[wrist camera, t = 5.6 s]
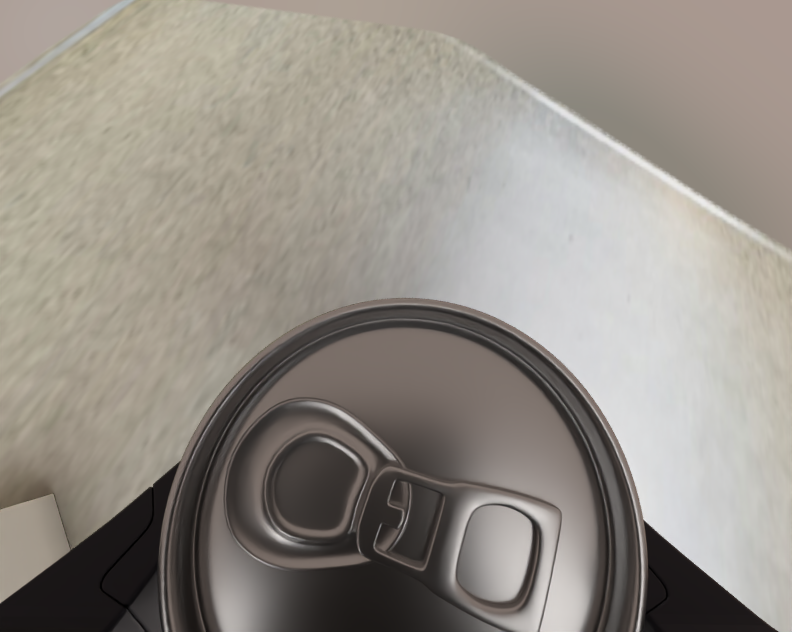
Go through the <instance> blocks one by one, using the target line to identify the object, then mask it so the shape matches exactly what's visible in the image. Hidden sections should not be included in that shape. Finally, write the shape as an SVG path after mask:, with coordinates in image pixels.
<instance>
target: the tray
mask: <svg viewBox="0 0 792 632" xmlns="http://www.w3.org/2000/svg"><path fill="white" fill-rule="evenodd" d="M69 551H70V547H69V544H68V541H67V537H66V534H65V531H64V527H63V524H62V521H61V518H60V514H59V511H58V508H57V504H56V501H55V498H54V495H53V494H50V495H47V496H43V497H40V498H37V499H33V500H30V501H27V502H23V503H20V504H17V505H14V506H10V507H7V508H4V509H0V603H1V602H2V601H4V600H5V599H7V598H8V597H9V596H11V595H12V594H13V593H15V592H16V591H17V590H19V589H20V588H21V587H23V586H24V585H25V584H27V583H28V582H29V581H31V580H32V579H33V578H35V577H36V576H37V575H39V574H40V573H41V572H43V571H44V570H45V569H47V568H48V567H49V566H51V565H52V564H53V563H55V562H56V561H57V560H59V559H60V558H61V557H63V556H64V555H65V554H67V553H68V552H69Z"/></svg>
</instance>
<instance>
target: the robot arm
mask: <svg viewBox="0 0 792 632" xmlns="http://www.w3.org/2000/svg"><path fill="white" fill-rule="evenodd" d="M180 462H181V461H180ZM180 462H178V463H177V464H176V465H175V466H174V467H173V468H171V469H170V470H169V471H168V472H167V473H166V474H164V475H163V476H162V477H161V478H160V479H159V480H157V481H156V482H155V483H154V484H153V487H149V488H148V489H147V490H146V491H144V492H143V493H142V494H141V495H140V496H139V497H137V498H136V499H135V500H134V501H133V502H132V503H130V504H129V505H128V506H127V507H125V508H124V509H123V510H122V511H121V512H119V513H118V514H117V515H116V516H115V517H113V518H112V519H111V520H110V521H109V522H107V523H106V524H105V525H103V526H102V527H101V528H99V529H98V530H97V531H96V532H94V533H93V534H92V535H90V536H89V537H88V538H86V539H85V540H84V541H83V542H81V543H80V544H79V545H77V546H76V547H75V548H73V549H72V550H71V551H69V552H68V553H67V554H65V555H64V556H63V557H61V558H60V559H59V560H57V561H56V562H55V563H53V564H52V565H51V566H49V567H48V568H47V569H45V570H44V571H43V572H41V573H40V574H39V575H37V576H36V577H35V578H33V579H32V580H31V581H29V582H28V583H27V584H25V585H24V586H23V587H21V588H20V589H19V590H17V591H16V592H15V593H13V594H12V595H11V596H9V597H8V598H7V599H5V600H4V601H2V602H1V603H0V632H162V629H161V623H160V614H159V604H158V555H159V545H160V537H161V530H162V524H163V519H164V514H165V509H166V505H167V501H168V497H169V494H170V490H171V487H172V484H173V481H174V478H175V475H176V472H177V469H178V467H179V464H180ZM643 521H644V520H643ZM644 528H645V535H646V544H647V558H648V591H647V604H646V613H645V620H644V627H643V632H778V631H777V630H775V629H774V628H772V627H771V626H770V625H768V624H767V623H766V622H765V621H763V620H762V619H761V618H759V617H758V616H757V615H756V614H754V613H753V612H752V611H751V610H750V609H748V608H747V607H746V606H745V605H744V604H742V603H741V602H740V601H739V600H737V599H736V598H735V597H734V596H733V595H731V594H730V593H729V592H728V591H727V590H725V589H724V588H723V587H722V586H721V585H719V584H718V583H717V582H716V581H714V580H713V579H712V578H711V577H710V576H708V575H707V574H706V573H705V572H704V571H702V570H701V569H700V568H699V567H698V566H696V565H695V564H694V563H693V562H692V561H690V560H689V559H688V558H687V557H686V556H684V555H683V554H682V553H681V552H680V551H678V550H677V549H676V548H675V547H674V546H673V545H671V544H670V543H669V542H668V541H667V540H666V539H664V538H663V537H662V536H661V535H660V534H659V533H657V532H656V531H655V530H654V529H653V528H652V527H651V526H650V525H649V524H648V523H646V522H645V521H644Z"/></svg>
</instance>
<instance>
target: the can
mask: <svg viewBox="0 0 792 632" xmlns="http://www.w3.org/2000/svg"><path fill="white" fill-rule="evenodd" d="M647 591H648V558H647V544H646V535H645V528H644V521H643V516H642V511H641V506H640V502H639V498H638V494H637V490H636V486H635V483H634V480H633V477H632V474H631V471H630V468H629V466H628V463H627V460H626V458H625V455H624V453H623V451H622V449H621V446H620V444H619V442H618V440H617V438H616V436H615V434H614V432H613V430H612V428H611V427H610V425H609V423H608V421H607V419H606V418H605V416H604V415H603V413H602V411H601V410H600V408H599V407H598V405H597V404H596V402H595V401H594V400H593V398H592V397H591V396H590V394H589V393H588V392H587V390H586V389H585V388H584V387H583V385H582V384H581V383H580V382H579V381H578V379H577V378H576V377H575V376H574V375H573V374H572V373H571V372H570V371H569V370H568V369H567V368H566V367H565V366H564V365H563V364H562V363H561V362H560V361H559V360H558V359H557V358H556V357H555V356H554V355H553V354H551V353H550V352H549V351H548V350H547V349H545V348H544V347H543V346H542V345H540V344H539V343H538V342H536V341H535V340H533V339H532V338H531V337H529V336H527V335H526V334H524V333H523V332H521V331H520V330H518V329H516V328H515V327H513V326H511V325H509V324H507V323H505V322H503V321H501V320H499V319H497V318H495V317H493V316H490V315H488V314H486V313H483V312H480V311H477V310H475V309H471V308H468V307H465V306H461V305H457V304H453V303H449V302H443V301H437V300H430V299H419V298H392V299H381V300H373V301H367V302H362V303H357V304H353V305H349V306H345V307H342V308H339V309H336V310H333V311H330V312H327V313H325V314H322V315H320V316H317V317H315V318H313V319H311V320H309V321H307V322H305V323H303V324H301V325H299V326H297V327H295V328H294V329H292V330H290V331H288V332H287V333H285V334H284V335H282V336H281V337H279V338H278V339H276V340H275V341H273V342H272V343H271V344H269V345H268V346H267V347H265V348H264V349H263V350H262V351H260V352H259V353H258V354H257V355H256V356H255V357H253V358H252V359H251V360H250V361H249V362H248V363H247V364H246V365H245V366H244V367H243V368H242V369H241V370H240V371H239V372H238V373H237V374H236V375H235V376H234V377H233V378H232V379H231V380H230V382H229V383H228V384H227V385H226V386H225V387H224V389H223V390H222V391H221V392H220V394H219V395H218V396H217V398H216V399H215V400H214V402H213V403H212V404H211V406H210V407H209V409H208V410H207V412H206V413H205V415H204V417H203V418H202V420H201V422H200V423H199V425H198V427H197V428H196V430H195V432H194V434H193V436H192V438H191V440H190V442H189V444H188V446H187V448H186V450H185V452H184V455H183V457H182V459H181V462H180V464H179V467H178V469H177V472H176V475H175V478H174V481H173V484H172V487H171V490H170V494H169V497H168V501H167V505H166V509H165V514H164V519H163V524H162V530H161V537H160V545H159V555H158V604H159V614H160V623H161V629H162V632H643V627H644V620H645V613H646V604H647Z"/></svg>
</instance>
